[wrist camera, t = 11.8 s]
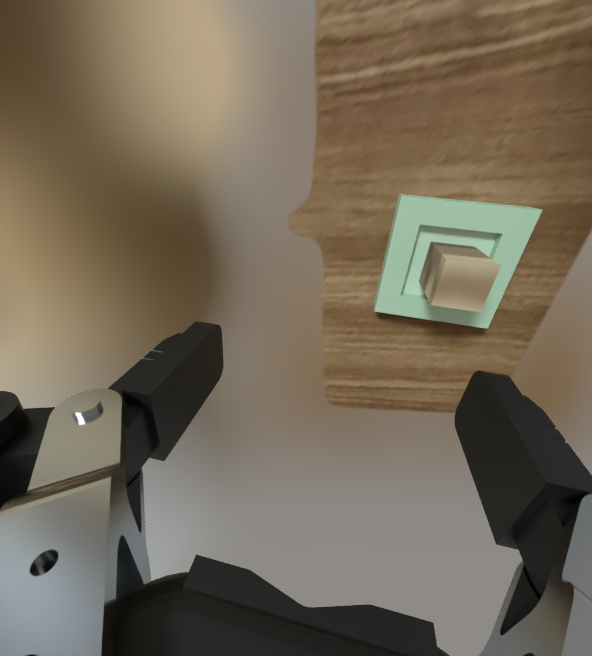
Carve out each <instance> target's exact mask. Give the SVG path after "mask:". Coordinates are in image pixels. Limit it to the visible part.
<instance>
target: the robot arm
mask: <svg viewBox="0 0 592 656" xmlns="http://www.w3.org/2000/svg"><path fill="white" fill-rule="evenodd" d="M222 370H223V348H222V332H221V327H220V326H219V325H216V324H211V323H205V322H199V321H196V322H194V323H193V324H192V325H191V326H190V327H189V328H188V329H187V330H186V331H185V332H183V333H178V334H176V335H173V336H171V337H169V338H167V339H165V340H163V341H162V342H161V343H160V344H158V345H157V346H156V347H155V348H154V349H153V351H150V352H149V353H148V354H147V355H146V356H145V357H144V359H141V360H140V361H139V362H138V363H137V364H135V365H134V366H133V367H132V368H131V369H130V370H129V371H127V372H126V373H125V374H124V375H123V376H122V377H120V378H119V379H118V380H117V381H116V382H115V383H114V384H112V385H111V386H110V387H109V388H108V389H105V388H104V389H103V388H98V389H91V390H86V391H83V392H80V393H77V394H75V395H73V396H71V397H69V398H67V399H65V400H64V401H62V402H61V403H60V404H59V405H57V407H52V408H32V409H31V408H30V409H23V407H22V405H21V403H20V401H19V399H18V397H17V396H16V395H15V394H13V393H11V392H6V391H0V656H449V655H448V654H447V653H445V652H444V651H443V650H441V649H440V648H438V647H437V644H436V637H435V631H434V625H433V623H432V622H429V621H425V620H422V619H419V618H415V617H412V616H408V615H404V614H401V613H398V612H394V611H391V610H387V609H384V608H380V607H377V606H373V605H353V606H334V607H316V608H310V607H305V606H302V605H301V604H299V603H297V602H296V601H295V600H293V599H292V598H290V597H289V596H287V595H286V594H284V593H283V592H281V591H280V590H278V589H277V588H275V587H274V586H273V585H271V584H270V583H268V582H267V581H265V580H263V579H262V578H261V577H259V576H258V575H256V574H255V573H253V572H252V571H250V570H248V569H244V568H241V567H238V566H234V565H231V564H227V563H224V562H220V561H217V560H213V559H210V558H206V557H203V556H199V555H196V557H195V559H194V561H193V564H192V566H191V568H190V571H189V572H184V573H178V574H173V575H168V576H165V577H162V578H159V579H156V580H153V581H151V573H150V565H149V558H148V554H147V547H146V537H145V515H144V513H145V512H144V488H143V471H142V466H143V465H144V464H145V462H146V461H147V460H148V458H153V459H157V460H162V461H165V459H166V458H167V456H168V455H169V453H170V452H171V450H172V449H173V447H174V446H175V445H176V443H177V442H178V440H179V439H180V437H181V436H182V434H183V433H184V431H185V430H186V428H187V427H188V425H189V424H190V422H191V421H192V419H193V418H194V416H195V415H196V414H197V412H198V411H199V409H200V408H201V406H202V404H203V403H204V402H205V400H206V399H207V397H208V396H209V394H210V393H211V391H212V390H213V388H214V387H215V385H216V384H217V382H218V381H219V379H220V377H221V374H222ZM455 428H456V431H457V434H458V437H459V439H460V442H461V445H462V448H463V451H464V453H465V457H466V459H467V462H468V465H469V468H470V471H471V474H472V476H473V479H474V482H475V485H476V488H477V491H478V493H479V496H480V499H481V502H482V505H483V508H484V511H485V514H486V516H487V519H488V522H489V525H490V527H491V531H492V533H493V536H494V539H495V542H496V544H497V545H502V546H506V547H510V548H514V549H518V550H519V551H520V554H521V556H522V559H523V561H522V562H521V563H520V564H519V565H518V566H517V568H516V571H515V573H514V576H513V578H512V581H511V584H510V586H509V589H508V591H507V594H506V597H505V599H504V602H503V605H502V607H501V609H500V612H499V615H498V617H497V620H496V623H495V625H494V628H493V630H492V633H491V636H490V638H489V640H488V642H487V644H486V646H485V647H484V649H483V650H482V652H481V653H480V654H479V656H592V475H591V474H590V473H589V471H588V470H587V469H586V467H585V466H584V465H583V464H582V462H581V461H580V459H579V458H578V456H577V455H576V454H575V452H574V451H573V450H572V448H571V447H570V446H569V445H568V444H567V443H565V439H564V438H563V436H562V435H561V434H560V432H559V431H558V430H556V429H555V425H554V424H553V423H552V421H551V420H550V419H549V417H548V416H547V414H546V413H545V412H544V411H543V410H542V409H541V408H540V407H539V406H537V405H536V404H535V403H534V402H533V401H531V400H530V399H529V398H528V397H526V396H523V395H522V394H521V393H520V391H519V390H518V388H517V387H516V385H515V384H514V382H513V381H512V380H511V378H510V377H509V376H507V375H503V374H497V373H491V372H486V371H479V370H478V371H476V372H475V373H474V374H473V375H472V377H471V379H470V381H469V383H468V386H467V388H466V390H465V392H464V394H463V396H462V398H461V400H460V402H459V405H458V407H457V409H456V413H455Z"/></svg>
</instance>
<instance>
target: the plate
mask: <svg viewBox="0 0 592 656" xmlns="http://www.w3.org/2000/svg"><path fill="white" fill-rule="evenodd" d="M541 212H542V210H541V209H537V208H533V207H525V206H515V205H505V204H495V203H485V202H475V201H465V200H455V199H445V198H435V197H425V196H415V195H405V194H399V196H398V201H397V205H396V210H395V214H394V218H393V223H392V227H391V231H390V236H389V240H388V244H387V249H386V253H385V257H384V262H383V266H382V271H381V275H380V279H379V284H378V288H377V292H376V297H375V301H374V311H375V312H382V313H388V314H395V315H401V316H408V317H414V318H421V319H427V320H434V321H440V322H447V323H453V324H460V325H466V326H473V327H479V328H486V329H488V327H489V325H490V322H491V320H492V318H493V316H494V314H495V312H496V309H497V307H498V305H499V303H500V301H501V299H502V296H503V294H504V292H505V290H506V288H507V286H508V283H509V281H510V279H511V277H512V275H513V273H514V270H515V268H516V266H517V264H518V262H519V260H520V257H521V255H522V253H523V251H524V249H525V247H526V244H527V242H528V240H529V238H530V236H531V234H532V231H533V229H534V227H535V225H536V223H537V221H538V218H539V216H540V214H541ZM430 242H440V243H448V244H456V245H465V246H473V247H476V248H477V249H479V250H480V251H481V252H483V253H484V254H486V255H487V256H488V257H490V258H491V259H492V260H494V261H495V262H497V263H498V264H499V265H501V267H500V269H499V272H498V274H497V276H496V279H495V281H494V283H493V286H492V288H491V290H490V293H489V295H488V297H487V299H486V302H485V304H484V306H483V309H482V311H481V312H475V311H468V310H461V309H454V308H447V307H441V306H434V305H431V304H430V302H429V300H428V298H427V296H426V294H425V292H424V290H423V288H422V286H421V284H420V282H419V279H420V276H421V272H422V269H423V266H424V262H425V259H426V256H427V252H428V249H429V246H430Z"/></svg>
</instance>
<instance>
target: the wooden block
mask: <svg viewBox="0 0 592 656" xmlns="http://www.w3.org/2000/svg"><path fill="white" fill-rule="evenodd" d="M500 267H501V265H499V264H498V263H497V262H495V261H494V260H492V259H491V258H490V257H488V256H487V255H486V254H484V253H483V252H481V251H480V250H479V249H477V248H476V247H473V246H465V245H456V244H448V243H440V242H430V246H429V249H428V252H427V256H426V259H425V262H424V266H423V269H422V272H421V276H420V279H419V282H420V284H421V286H422V288H423V290H424V292H425V294H426V296H427V298H428V300H429V302H430V304H431V305H434V306H441V307H447V308H454V309H461V310H468V311H475V312H481V311H482V309H483V306H484V304H485V302H486V299H487V297H488V295H489V293H490V290H491V288H492V286H493V283H494V281H495V279H496V276H497V274H498V272H499V269H500Z"/></svg>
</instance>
